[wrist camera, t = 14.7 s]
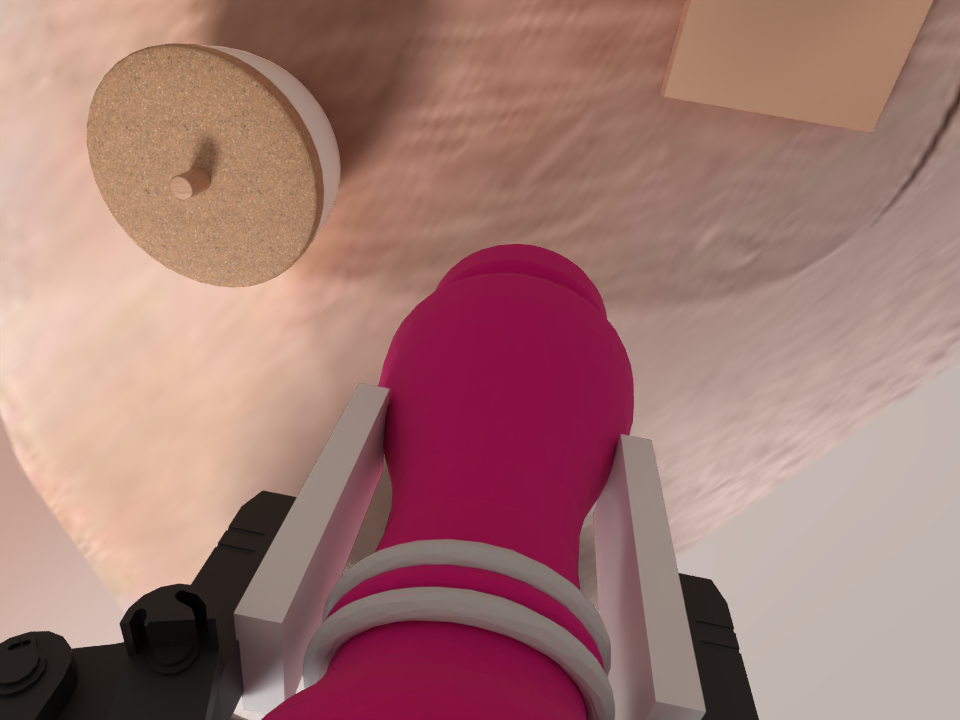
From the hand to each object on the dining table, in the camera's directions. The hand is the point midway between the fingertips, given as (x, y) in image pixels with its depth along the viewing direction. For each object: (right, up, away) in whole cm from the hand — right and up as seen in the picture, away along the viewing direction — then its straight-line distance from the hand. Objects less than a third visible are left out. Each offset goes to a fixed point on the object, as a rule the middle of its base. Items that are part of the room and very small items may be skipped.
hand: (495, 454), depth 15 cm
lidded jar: (-12, +15, +18) cm, 26 cm away
